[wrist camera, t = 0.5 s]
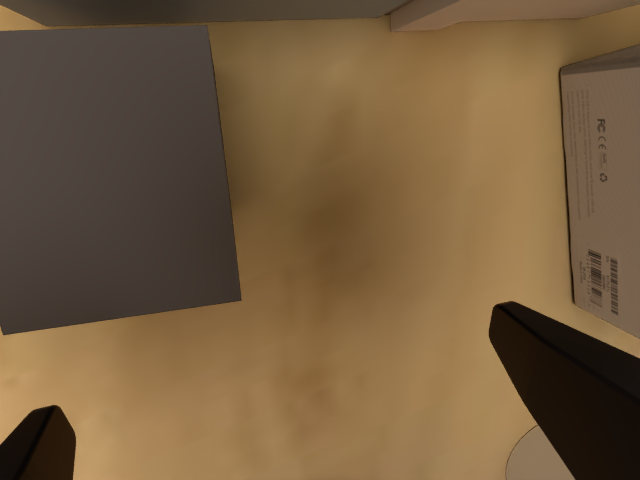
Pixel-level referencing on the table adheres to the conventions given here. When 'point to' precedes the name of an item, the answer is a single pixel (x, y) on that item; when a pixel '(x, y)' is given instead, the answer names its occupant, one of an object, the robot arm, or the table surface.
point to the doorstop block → (111, 177)
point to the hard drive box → (604, 183)
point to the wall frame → (495, 11)
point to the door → (194, 10)
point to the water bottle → (536, 459)
